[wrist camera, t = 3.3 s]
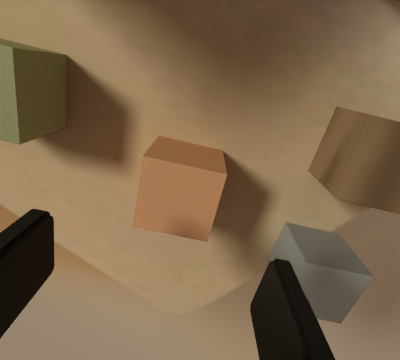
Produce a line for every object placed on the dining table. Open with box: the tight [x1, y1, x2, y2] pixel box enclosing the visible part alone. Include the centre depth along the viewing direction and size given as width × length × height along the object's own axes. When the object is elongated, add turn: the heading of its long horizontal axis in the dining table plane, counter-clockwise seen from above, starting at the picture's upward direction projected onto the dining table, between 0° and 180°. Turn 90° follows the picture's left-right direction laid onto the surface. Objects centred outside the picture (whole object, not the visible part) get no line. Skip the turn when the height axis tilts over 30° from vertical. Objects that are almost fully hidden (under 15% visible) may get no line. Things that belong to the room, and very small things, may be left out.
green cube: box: [0, 39, 67, 144], centre depth 15 cm, size 5×5×5 cm
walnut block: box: [308, 107, 400, 214], centre depth 16 cm, size 5×5×5 cm
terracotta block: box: [133, 136, 227, 242], centre depth 17 cm, size 5×5×5 cm
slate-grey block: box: [266, 222, 373, 323], centre depth 20 cm, size 5×5×5 cm
